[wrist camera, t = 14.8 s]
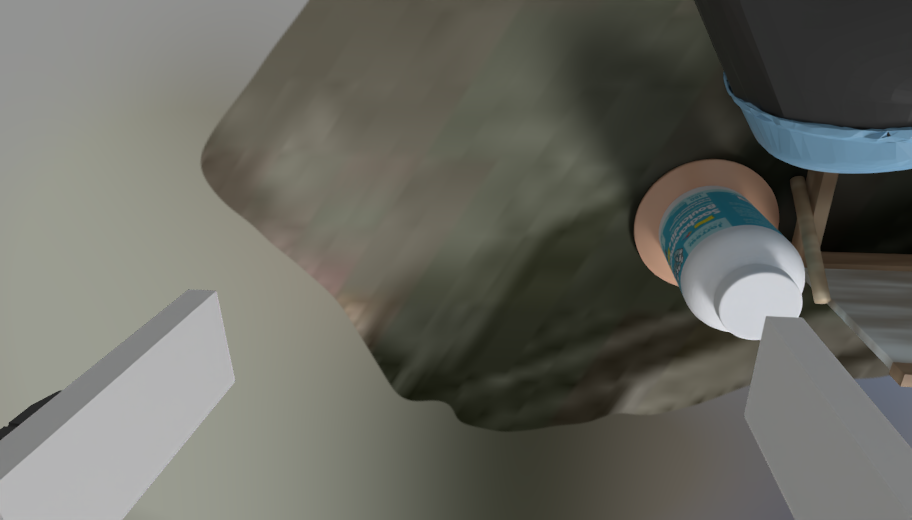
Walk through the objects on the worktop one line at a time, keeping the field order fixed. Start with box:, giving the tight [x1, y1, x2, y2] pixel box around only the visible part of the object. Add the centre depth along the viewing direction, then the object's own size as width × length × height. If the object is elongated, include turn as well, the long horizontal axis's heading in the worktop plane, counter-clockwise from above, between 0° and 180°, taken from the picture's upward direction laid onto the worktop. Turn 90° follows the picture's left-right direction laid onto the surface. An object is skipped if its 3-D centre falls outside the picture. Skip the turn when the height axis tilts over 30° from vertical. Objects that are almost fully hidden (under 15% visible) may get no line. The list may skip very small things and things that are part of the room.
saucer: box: [634, 159, 779, 286], centre depth 47 cm, size 11×11×1 cm
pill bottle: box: [659, 186, 805, 340], centre depth 41 cm, size 8×7×14 cm
